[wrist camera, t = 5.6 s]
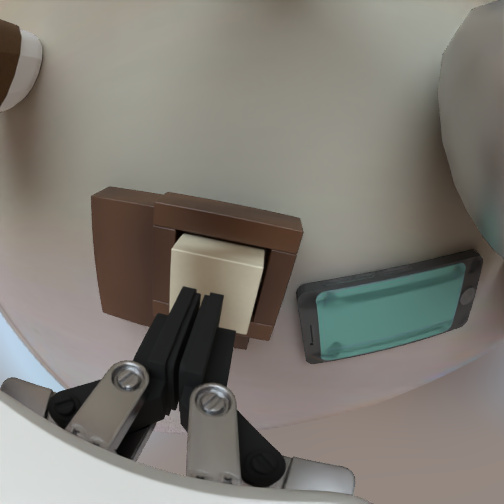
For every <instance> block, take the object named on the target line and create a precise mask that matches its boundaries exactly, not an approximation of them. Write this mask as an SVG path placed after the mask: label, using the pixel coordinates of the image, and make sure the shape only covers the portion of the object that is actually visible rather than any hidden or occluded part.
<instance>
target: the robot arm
mask: <svg viewBox="0 0 504 504" xmlns="http://www.w3.org/2000/svg"><path fill="white" fill-rule="evenodd" d="M223 299H224V295H222V294H217V293H212V292H211V293H210V295H204V298H203V300H202V303H201V306H200V300H201V294H200V293H197V289H194V288H190V287H185V286H183V287H182V289H181V291H180V293H179V295H178V297H177V299H176V301H175V303H174V305H173V307H172V309H171V311H170V313H169V315H165V314H162V313H158V314H157V315H156V316H155V318H154V320H153V322H152V324H151V326H150V328H149V330H148V332H147V334H146V335H145V337H144V339H143V341H142V343H141V345H140V347H139V349H138V351H137V353H136V355H135V357H134V359H133V361H127V360H125V361H120V362H118V363H116V364H114V365H113V366H112V367H111V368H110V369H109V370H108V371H107V373H106V374H105V375H104V377H103V378H102V379H101V380H98V381H94V382H91V383H88V384H84V385H81V386H77V387H74V388H70V389H67V390H63V391H60V392H58V393H56V392H53V391H52V389H49V388H45V387H42V386H38V385H35V384H33V383H30V382H26V381H24V380H21V379H18V378H8V379H7V380H5V381H4V382H3V384H2V385H1V388H0V504H373V503H371V502H369V501H368V500H365V499H363V498H360V497H357V496H353V493H354V487H355V476H354V474H353V473H352V471H350V470H349V469H348V468H345V467H343V466H337V465H331V464H325V463H320V462H315V461H311V460H306V459H301V458H297V457H293V458H290V457H286V456H282V455H281V454H280V452H278V451H277V450H276V449H275V448H274V447H273V446H272V445H271V444H270V443H269V442H268V441H267V440H266V439H265V438H264V437H263V436H262V435H261V434H260V433H259V432H258V431H257V430H256V429H255V428H254V427H253V426H252V425H251V424H250V423H249V422H248V421H247V420H246V419H245V418H244V417H243V416H242V415H241V413H240V412H239V411H238V410H237V405H236V399H235V396H234V394H233V393H232V391H231V390H230V389H228V388H227V382H228V376H229V370H230V364H231V358H232V353H233V347H234V341H235V335H236V331H235V330H230V329H226V328H221V327H219V323H220V317H221V311H222V305H223ZM178 402H179V411H180V418H181V425H182V426H183V427H184V429H185V430H186V431H187V433H188V440H187V461H186V476H184V475H180V474H176V473H172V472H168V471H165V470H161V469H157V468H154V467H151V466H148V465H145V464H142V463H139V462H136V461H137V460H138V457H139V456H140V454H141V452H142V450H143V448H144V446H145V445H146V443H147V441H148V439H149V437H150V435H151V433H152V431H153V430H154V428H155V426H156V423H157V422H158V421H160V420H163V419H164V417H165V415H168V416H169V414H170V411H171V409H172V410H176V408H177V405H178Z"/></svg>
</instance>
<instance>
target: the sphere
mask: <svg viewBox="0 0 504 504" xmlns="http://www.w3.org/2000/svg"><path fill="white" fill-rule="evenodd" d="M437 95H438V102H439V111H440V122H441V137H442V142H443V146H444V149H445V152H446V156H447V159H448V163H449V166H450V170H451V174H452V178H453V182H454V185H455V187H456V189H457V191H458V193H459V195H460V197H461V200H462V202H463V204H464V206H465V208H466V210H467V212H468V214H469V216H470V217H471V219H472V220H473V222H474V223H475V225H476V226H477V228H478V230H479V231H480V233H481V234H482V236H483V237H484V239H485V240H486V241H487V242H488V243H489V245H490V246H491V247H492V248H493V249H494V250H495V251H496V252H497V253H498V254H499V255H500V256H502V257H503V258H504V0H497V1H494V2H491V3H488V4H485V5H482V6H479V7H477V8H474V9H472V10H471V11H470V13H469V14H468V16H467V17H466V19H465V20H464V22H463V23H462V25H461V26H460V27H459V29H458V30H457V32H456V34H455V35H454V37H453V39H452V40H451V42H450V43H449V45H448V46H447V48H446V50H445V51H444V53H443V54H442V63H441V71H440V79H439V85H438V92H437Z"/></svg>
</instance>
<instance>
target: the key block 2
mask: <svg viewBox="0 0 504 504" xmlns="http://www.w3.org/2000/svg"><path fill="white" fill-rule="evenodd" d="M91 209H92V230H93V243H94V254H95V263H96V272H97V279H98V286H99V293H100V299H101V304H102V310H103V312H104V313H107V314H110V315H113V316H116V317H119V318H122V319H125V320H128V321H131V322H135V323H138V324H141V325H145V326H148V327H150V326H151V324H152V322H153V320H154V318H155V316H156V315H157V314H158V313H162V314H165V315H169V309H170V269H171V249H172V248H173V246H174V245H175V243H176V242H177V241H178V239H179V238H180V237H181V236H182V234H183V233H186V234H190V235H195V236H200V237H205V238H210V239H215V240H220V241H225V242H229V243H234V244H239V245H244V246H249V247H254V248H258V249H263V250H265V256H264V269H263V273H262V277H261V281H260V285H259V289H258V293H257V297H256V301H255V304H254V308H253V312H252V316H251V320H250V324H249V328H248V332H247V334H246V335H245V334H240V333H236V335H235V341H234V348H240V349H245V350H246V349H247V345H248V342H249V338H255V339H260V340H266V341H269V340H270V337H271V334H272V331H273V328H274V325H275V322H276V319H277V316H278V313H279V310H280V307H281V304H282V301H283V298H284V295H285V291H286V288H287V285H288V282H289V279H290V276H291V272H292V269H293V266H294V263H295V259H296V256H297V255H296V254H297V253H298V249H299V246H300V242H301V239H302V236H303V228H302V224H301V220H300V218H297V217H293V216H289V215H284V214H279V213H275V212H270V211H266V210H261V209H256V208H251V207H246V206H241V205H236V204H231V203H226V202H221V201H216V200H211V199H205V198H200V197H194V196H189V195H183V194H177V193H171V192H167V193H166V194H164V195H161V194H155V193H149V192H143V191H136V190H130V189H123V188H117V187H108V188H106V189H104V190H102V191H100V192H98V193H96V194H94V195H92V196H91Z"/></svg>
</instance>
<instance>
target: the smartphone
mask: <svg viewBox="0 0 504 504" xmlns="http://www.w3.org/2000/svg"><path fill="white" fill-rule="evenodd" d="M482 263H483V258H482V257H481V256H480V255H479V254H478V253H477V252H476V251H474V250H471V251H466V252H462V253H458V254H454V255H450V256H445V257H441V258H437V259H432V260H428V261H423V262H418V263H414V264H409V265H404V266H399V267H394V268H390V269H385V270H379V271H374V272H369V273H364V274H359V275H353V276H348V277H342V278H336V279H331V280H325V281H319V282H313V283H307V284H303V285H301V286H300V287H299V288H298V289H297V292H296V293H297V301H298V308H299V314H300V321H301V328H302V335H303V342H304V349H305V357H306V361H307V362H308V363H310V364H317V363H323V362H329V361H335V360H340V359H345V358H351V357H356V356H360V355H365V354H370V353H374V352H378V351H382V350H387V349H391V348H394V347H398V346H402V345H406V344H409V343H413V342H416V341H420V340H423V339H426V338H430V337H433V336H436V335H439V334H442V333H445V332H448V331H451V330H454V329H457V328H459V327H462V326H463V325H464V324H465V323H466V322H467V320H468V317H469V314H470V310H471V307H472V304H473V300H474V297H475V293H476V289H477V285H478V281H479V277H480V273H481V268H482Z"/></svg>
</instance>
